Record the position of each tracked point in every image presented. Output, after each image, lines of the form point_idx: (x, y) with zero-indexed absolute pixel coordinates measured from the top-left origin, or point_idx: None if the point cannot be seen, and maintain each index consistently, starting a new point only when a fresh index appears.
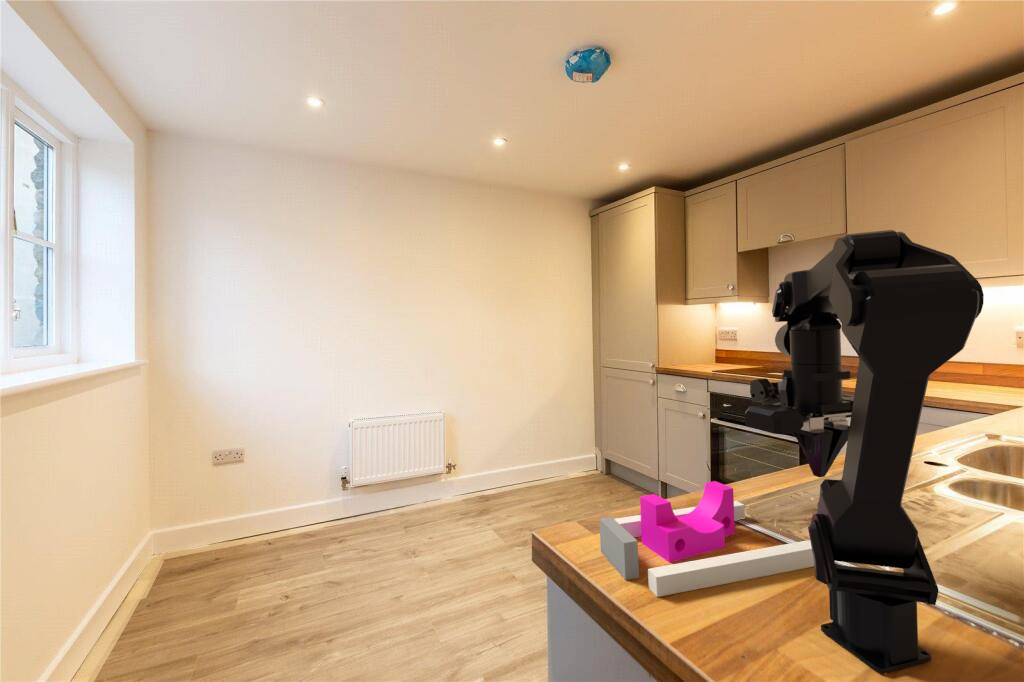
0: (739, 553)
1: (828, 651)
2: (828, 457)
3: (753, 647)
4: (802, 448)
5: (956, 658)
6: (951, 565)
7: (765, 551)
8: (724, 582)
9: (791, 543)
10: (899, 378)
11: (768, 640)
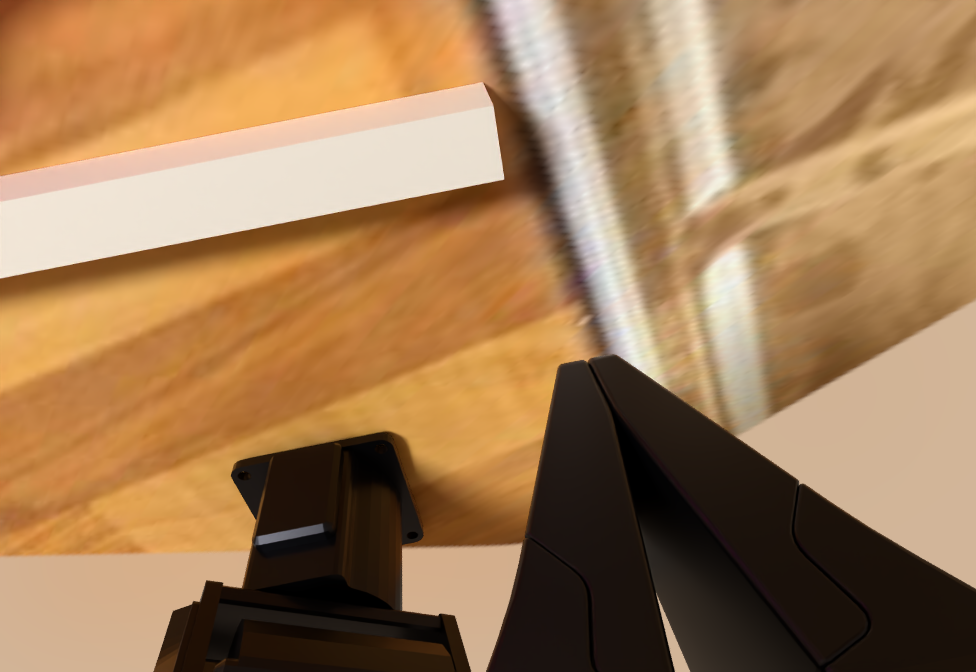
0: (35, 203)
1: (216, 508)
2: (671, 614)
3: (26, 500)
4: (513, 591)
5: (479, 520)
6: (931, 203)
7: (182, 197)
8: None
9: (360, 132)
10: None
11: (75, 483)
